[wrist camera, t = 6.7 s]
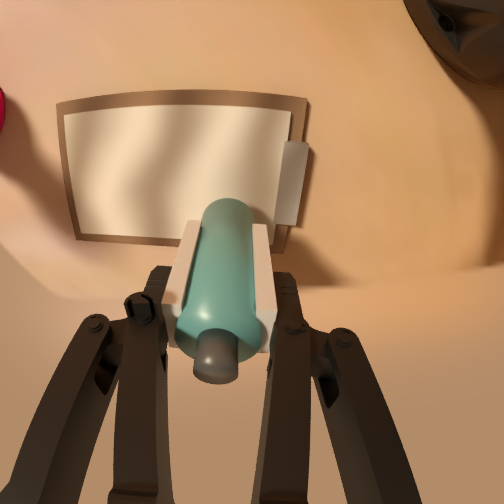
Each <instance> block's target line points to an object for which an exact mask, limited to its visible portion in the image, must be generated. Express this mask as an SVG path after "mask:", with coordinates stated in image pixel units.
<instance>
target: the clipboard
mask: <svg viewBox="0 0 504 504" xmlns="http://www.w3.org/2000/svg"><path fill="white" fill-rule="evenodd" d="M306 106H307V99H306V98H300V97H293V96H286V95H277V94H268V93H257V92H245V91H228V90H159V91H143V92H130V93H120V94H111V95H103V96H96V97H90V98H83V99H77V100H72V101H67V102H61V103H58V104H56V108H57V125H58V137H59V147H60V155H61V163H62V170H63V176H64V183H65V188H66V194H67V199H68V204H69V209H70V214H71V219H72V223H73V227H74V231H75V235H76V239H77V240H83V241H98V242H114V243H129V244H144V245H159V246H174V247H179V245H180V242H181V239H182V236H183V233H184V230H185V227H186V224H187V221H188V220H199V221H201V219H202V215H203V213H204V211H205V209H206V208H207V206H208V205H209V204H211V203H212V202H214V201H216V200H218V199H222V198H233V199H237V200H240V201H242V202H243V203H245V204H246V205H247V206H248V207H249V208H250V209H251V211H252V213H253V216H254V222H255V224H266V227H267V234H268V242H269V249H270V253H280V254H283V252H284V246H285V241H286V235H287V229H288V225H294V226H296V221H297V215H298V210H299V204H300V198H301V193H302V187H303V181H304V175H305V169H306V163H307V157H308V150H309V144H308V143H305V142H302V135H303V128H304V121H305V113H306Z"/></svg>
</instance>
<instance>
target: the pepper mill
mask: <svg viewBox="0 0 504 504" xmlns="http://www.w3.org/2000/svg"><path fill="white" fill-rule="evenodd" d="M4 113H5V106H4V99H3V94H2V92H1V90H0V131H1V129H2V125H3V121H4Z"/></svg>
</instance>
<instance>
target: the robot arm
mask: <svg viewBox="0 0 504 504" xmlns="http://www.w3.org/2000/svg"><path fill="white" fill-rule="evenodd" d="M404 2H405V4H406V7H407V9H408V11H409V13H410V15H411V17H412V18H413V20H414V22H415V24H416V25H417V27H418V29H419V30H420V32H421V33H422V35H423V36H424V38H425V39H426V40H427V42H428V43H429V44H430V46H431V47H432V48H433V49H434V51H435V52H436V53H437V54H438V55H439V56H440V57H441V58H442V59H443V60H444V61H445V62H446V63H447V64H448V65H449V66H450V67H451V68H452V69H453V70H455V71H456V72H457V73H458V74H460V75H461V76H463V77H464V78H466V79H468V80H470V81H472V82H474V83H476V84H479V85H483V86H488V87H492V88H496V89H501V90H504V0H404ZM200 231H201V221H199V220H188V221H187V224H186V227H185V230H184V233H183V236H182V239H181V242H180V245H179V248H178V251H177V254H176V257H175V260H174V263H173V266H172V267H171V266H157V267H155V268H154V269H153V270H152V271H151V273H150V275H149V278H148V281H147V283H146V287H145V288H144V291H143V292H137V293H134V294H132V295H130V296H129V297H127V298H126V300H125V302H124V306H125V310H126V313H127V316H128V317H127V318H125V319H121V320H115V321H109V319H108V318H107V317H106V316H104V315H102V314H93V315H90V316H88V317H87V318H85V319H84V321H83V322H82V323H81V325H80V327H79V329H78V330H77V332H76V333H75V335H74V337H73V339H72V341H71V342H70V344H69V346H68V348H67V349H66V352H65V353H64V355H63V357H62V359H61V361H60V363H59V364H58V367H57V368H56V370H55V372H54V374H53V376H52V378H51V380H50V382H49V384H48V386H47V388H46V390H45V392H44V395H43V397H42V399H41V401H40V403H39V405H38V408H37V410H36V412H35V414H34V417H33V419H32V421H31V424H30V426H29V429H28V431H27V434H26V436H25V438H24V441H23V444H22V447H21V449H20V452H19V455H18V457H17V460H16V463H15V466H14V469H13V472H12V475H11V478H10V482H9V483H8V484H7V485H6V486H5V488H4V489H3V490H2V491H1V492H0V504H78V500H79V497H80V493H81V490H82V486H83V482H84V479H85V475H86V472H87V469H88V465H89V462H90V459H91V456H92V453H93V449H94V446H95V443H96V440H97V437H98V434H99V431H100V428H101V426H102V422H103V420H104V417H105V414H106V411H107V409H108V406H109V403H110V401H111V398H112V395H113V393H114V389H115V387H116V385H117V382H118V380H119V384H118V393H117V403H116V416H115V432H114V464H113V466H114V467H113V473H114V474H113V475H114V476H113V478H114V480H113V481H114V482H113V488H112V489H111V491H110V492H109V495H108V504H175V503H174V499H173V493H172V483H171V482H172V481H171V469H170V454H169V435H168V401H167V400H168V398H167V366H168V355H167V351H166V348H167V343H169V347H173V348H179V347H178V346H177V344H176V342H175V338H174V332H175V327H176V322H177V319H178V317H179V316H180V314H181V313H182V309H183V304H184V300H185V295H186V290H187V286H188V281H189V277H190V272H191V268H192V264H193V260H194V255H195V251H196V247H197V243H198V239H199V235H200ZM252 243H253V264H254V285H255V306H256V318H257V319H258V321H259V323H260V326H261V332H262V344H261V347H260V349H259V350H258V352H257V353H268V351H269V348H270V358H269V363H268V366H267V371H268V372H267V382H266V391H265V400H264V408H263V416H262V417H263V418H262V426H261V433H260V441H259V449H258V456H257V464H256V471H255V479H254V485H253V493H252V500H251V504H308V502H307V491H308V474H309V454H310V453H309V452H310V421H311V420H310V419H311V417H310V416H311V376H312V377H313V379H314V383H315V386H316V390H317V393H318V397H319V400H320V403H321V407H322V411H323V414H324V418H325V421H326V425H327V428H328V432H329V435H330V439H331V443H332V447H333V450H334V454H335V458H336V461H337V465H338V468H339V472H340V476H341V480H342V483H343V488H344V492H345V495H346V499H347V503H348V504H422V502H421V498H420V495H419V492H418V489H417V486H416V483H415V480H414V477H413V474H412V471H411V468H410V465H409V462H408V459H407V456H406V454H405V451H404V448H403V445H402V443H401V440H400V437H399V435H398V432H397V429H396V427H395V424H394V421H393V419H392V416H391V414H390V411H389V409H388V406H387V404H386V401H385V399H384V397H383V394H382V391H381V389H380V387H379V384H378V382H377V379H376V377H375V375H374V372H373V371H372V368H371V365H370V363H369V361H368V359H367V356H366V354H365V352H364V350H363V347H362V345H361V343H360V341H359V338H358V337H357V335H356V334H355V333H354V332H352V331H351V330H349V329H346V328H336V329H333V330H332V331H331V332H330V334H329V333H325V332H321V331H318V330H315V329H313V328H311V327H310V326H309V324H308V323H307V322H306V320H304V318H303V314H302V309H301V305H300V300H299V295H298V290H297V286H296V281H295V279H294V278H293V276H292V275H291V274H290V273H286V272H272V264H271V257H270V249H269V242H268V234H267V227H266V224H252Z"/></svg>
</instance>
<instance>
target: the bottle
mask: <svg viewBox="0 0 504 504" xmlns="http://www.w3.org/2000/svg"><path fill="white" fill-rule="evenodd" d="M252 224H255V222H254V216H253V213H252V211H251V209H250V208H249V207H248V206H247V205H246V204H245V203H243V202H242V201H240V200H237V199H233V198H222V199H218V200H216V201H214V202H212V203H211V204H209V205H208V206H207V208H206V209H205V211H204V213H203V215H202V219H201V231H200V235H199V239H198V243H197V247H196V251H195V255H194V260H193V264H192V268H191V272H190V277H189V281H188V286H187V290H186V295H185V300H184V304H183V309H182V313H181V314H180V316H179V317H178V319H177V322H176V327H175V332H174V338H175V342H176V344H177V346H178V347H179V348H180V349H181V350H182V351H183V352H184V353H185V354H186V355H188V356H189V357H191V358H193V359H195V360H194V367H193V374H194V375H195V377H196V378H198V379H199V380H201V381H203V382H206V383H210V384H227V383H230V382H232V381H234V380H236V379H237V377H238V363H239V362H243V361H245V360H247V359H249V358H251V357H252V356H254V355H255V354H256V353H257V352H258V350H259V349H260V347H261V344H262V332H261V326H260V323H259V321H258V319H257V318H256V306H255V285H254V264H253V243H252Z"/></svg>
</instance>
